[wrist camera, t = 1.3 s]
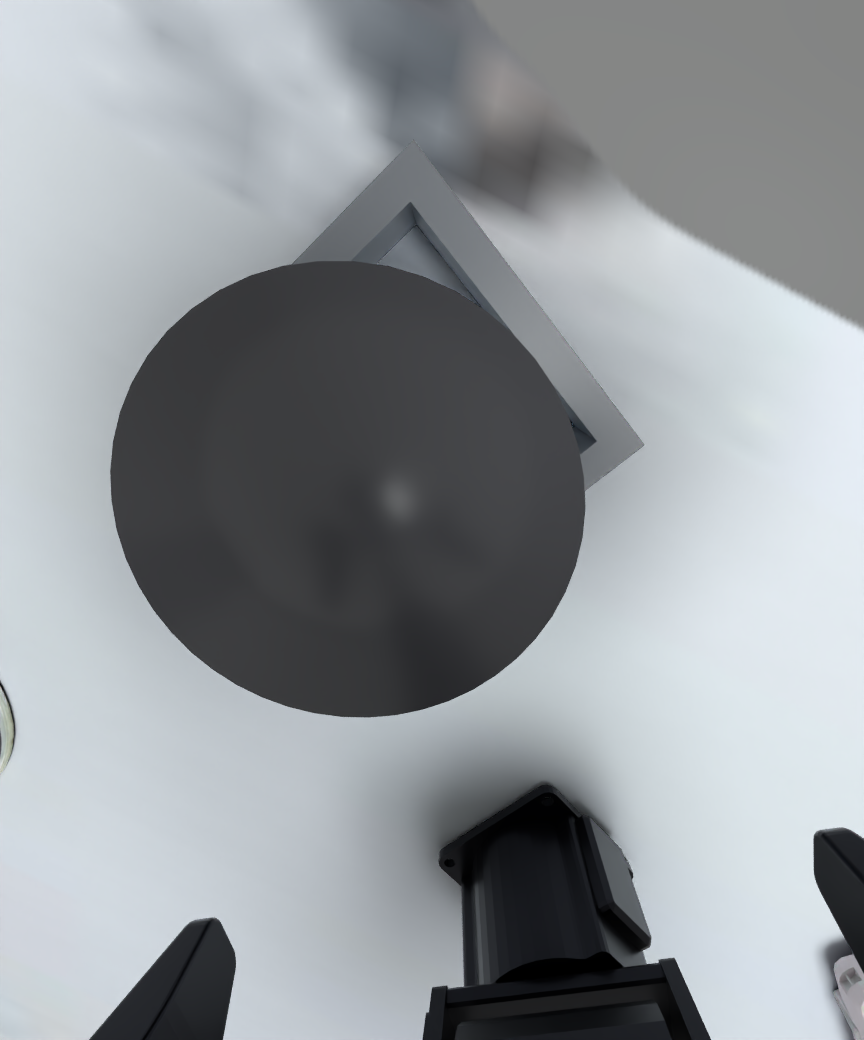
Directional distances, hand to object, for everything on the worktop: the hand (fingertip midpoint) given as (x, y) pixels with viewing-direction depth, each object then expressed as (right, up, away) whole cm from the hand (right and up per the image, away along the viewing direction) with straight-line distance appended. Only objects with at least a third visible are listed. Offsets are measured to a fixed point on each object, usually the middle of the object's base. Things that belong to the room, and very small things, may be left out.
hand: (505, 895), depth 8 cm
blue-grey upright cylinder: (-2, +9, +11) cm, 15 cm away
